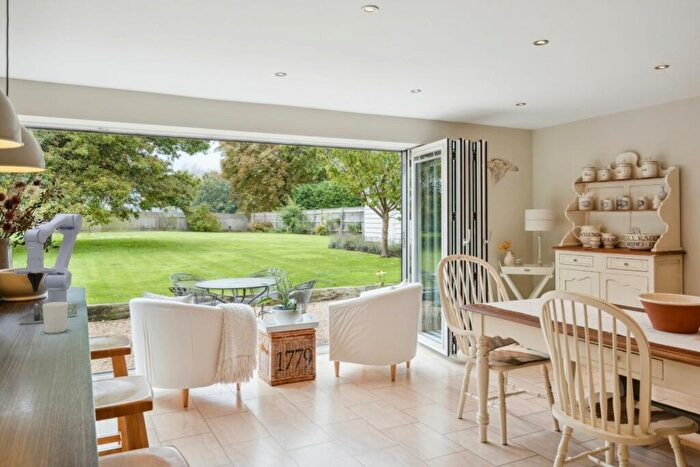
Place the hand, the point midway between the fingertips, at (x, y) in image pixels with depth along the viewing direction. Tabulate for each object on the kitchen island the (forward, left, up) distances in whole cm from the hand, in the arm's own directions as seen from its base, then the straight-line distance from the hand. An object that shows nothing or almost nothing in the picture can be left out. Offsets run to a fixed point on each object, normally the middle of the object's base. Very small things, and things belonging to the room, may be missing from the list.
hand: (35, 291), depth 206 cm
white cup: (+32, +11, -11) cm, 35 cm away
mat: (+5, +4, -10) cm, 12 cm away
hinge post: (+11, +2, -10) cm, 15 cm away
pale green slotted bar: (+7, +9, -10) cm, 15 cm away
